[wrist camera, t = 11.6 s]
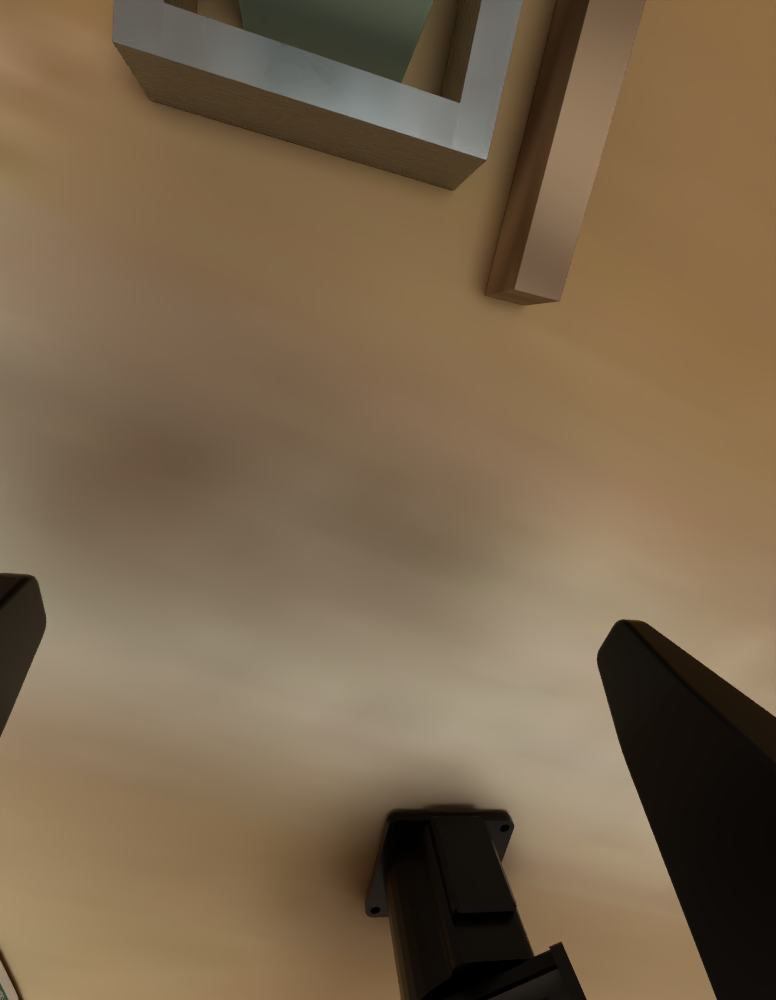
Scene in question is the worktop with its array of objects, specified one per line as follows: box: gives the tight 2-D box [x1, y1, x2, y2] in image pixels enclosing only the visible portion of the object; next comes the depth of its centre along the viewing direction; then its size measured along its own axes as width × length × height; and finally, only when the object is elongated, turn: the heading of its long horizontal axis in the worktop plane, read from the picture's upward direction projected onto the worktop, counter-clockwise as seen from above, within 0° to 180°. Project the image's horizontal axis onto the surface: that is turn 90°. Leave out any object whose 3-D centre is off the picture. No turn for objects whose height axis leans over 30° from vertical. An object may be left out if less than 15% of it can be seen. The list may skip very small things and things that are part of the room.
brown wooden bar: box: [485, 0, 646, 305], centre depth 14 cm, size 14×2×2 cm, turn 168°
